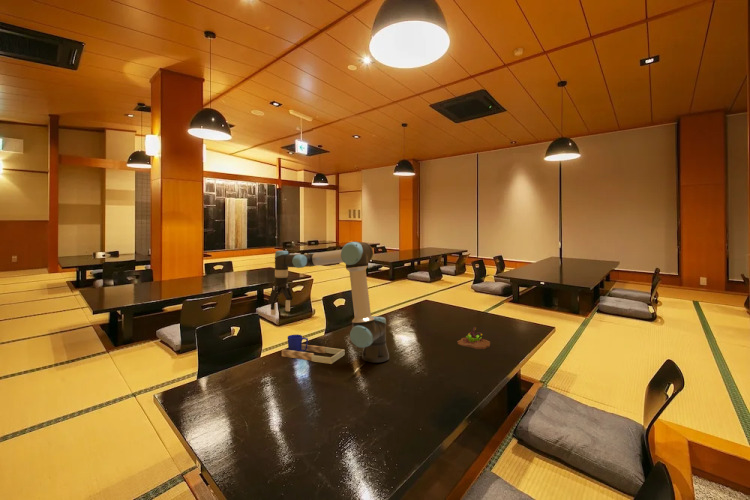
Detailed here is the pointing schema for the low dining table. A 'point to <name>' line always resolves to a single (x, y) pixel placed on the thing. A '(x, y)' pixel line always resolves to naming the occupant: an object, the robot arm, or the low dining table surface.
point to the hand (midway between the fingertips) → (280, 313)
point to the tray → (329, 360)
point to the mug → (296, 343)
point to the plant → (474, 341)
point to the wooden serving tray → (303, 354)
